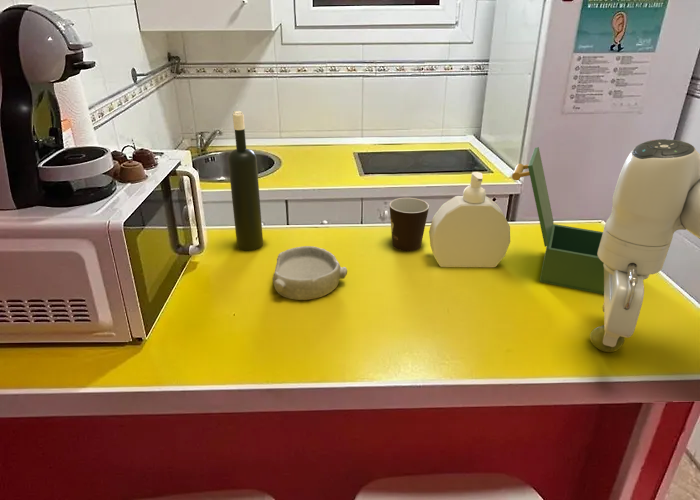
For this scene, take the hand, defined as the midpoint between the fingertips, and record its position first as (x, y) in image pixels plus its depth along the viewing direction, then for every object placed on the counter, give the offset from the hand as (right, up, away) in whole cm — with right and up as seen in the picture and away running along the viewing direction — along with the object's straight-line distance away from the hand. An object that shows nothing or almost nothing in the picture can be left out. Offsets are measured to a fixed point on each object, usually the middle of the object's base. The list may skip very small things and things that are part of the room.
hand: (608, 326), depth 83 cm
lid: (-3, +23, +19) cm, 30 cm away
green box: (+6, +7, +23) cm, 24 cm away
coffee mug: (-28, +14, +35) cm, 47 cm away
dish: (-50, +5, +19) cm, 54 cm away
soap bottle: (-17, +9, +27) cm, 33 cm away
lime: (0, -4, +2) cm, 5 cm away
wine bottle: (-64, +13, +33) cm, 73 cm away
